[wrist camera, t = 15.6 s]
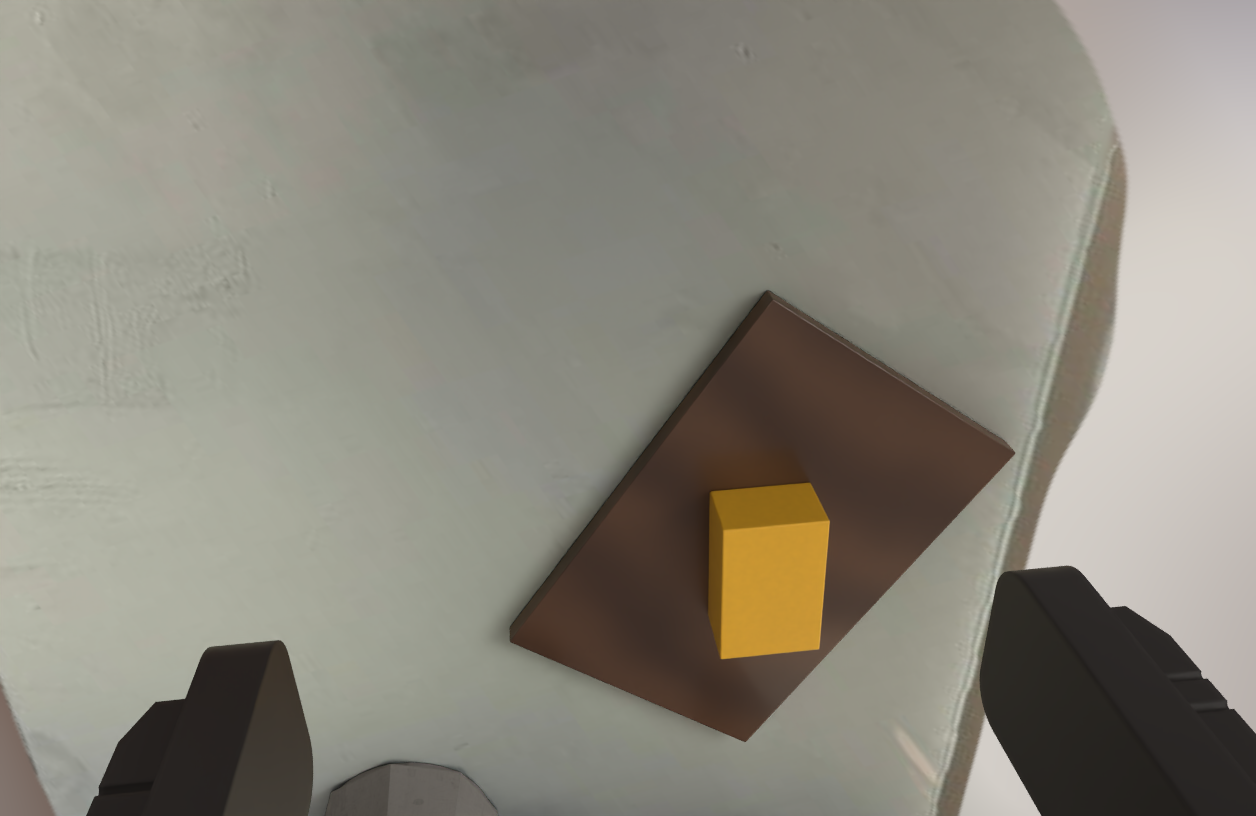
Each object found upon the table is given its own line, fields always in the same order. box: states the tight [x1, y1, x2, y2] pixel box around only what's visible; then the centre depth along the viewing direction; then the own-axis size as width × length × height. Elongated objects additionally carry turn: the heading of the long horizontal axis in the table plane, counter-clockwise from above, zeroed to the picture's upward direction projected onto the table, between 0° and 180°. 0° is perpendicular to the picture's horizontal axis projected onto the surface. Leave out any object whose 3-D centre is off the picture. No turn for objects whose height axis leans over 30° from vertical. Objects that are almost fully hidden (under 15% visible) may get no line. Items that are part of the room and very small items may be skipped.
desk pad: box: [510, 291, 1015, 742], centre depth 45 cm, size 20×14×1 cm
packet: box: [708, 483, 830, 659], centre depth 44 cm, size 7×4×3 cm, turn 2°
